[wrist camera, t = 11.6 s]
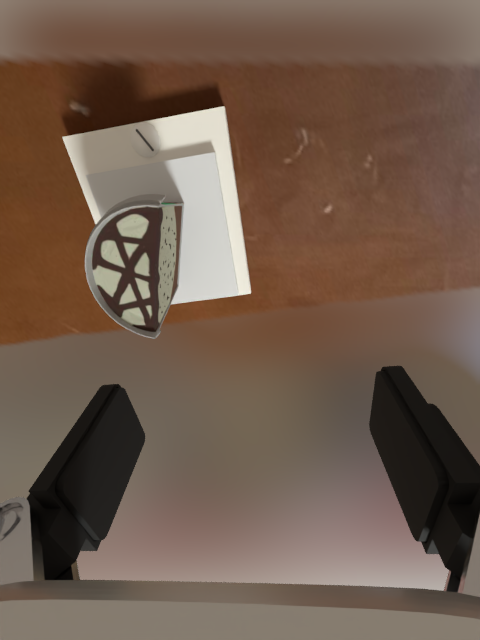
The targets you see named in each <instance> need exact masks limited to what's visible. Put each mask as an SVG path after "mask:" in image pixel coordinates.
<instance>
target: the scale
mask: <svg viewBox="0 0 480 640" xmlns="http://www.w3.org/2000/svg"><path fill="white" fill-rule="evenodd" d="M62 138H63V140H64V143H65V146H66V148H67V151H68V153H69V156H70V159H71V161H72V164H73V166H74V169H75V172H76V174H77V177H78V180H79V182H80V185H81V187H82V190H83V193H84V195H85V198H86V200H87V203H88V206H89V208H90V211H91V213H92V216H93V219H94V221H95V224H97V223H98V221H99V220H100V219H101V218H102V217H103V216H104V215H105V213H106V212H107V211H108V210H109V209H111V208H112V207H113V206H115V205H116V204H117V203H119V202H121V201H123V200H126V199H128V198H131V197H134V196H138V195H146V194H160V195H166V197H165V199H164V200H163V201H162V203H166V202H178V203H184V213H183V228H182V243H181V258H180V273H179V287H178V289H177V291H176V293H175V296H174V298H173V300H172V302H171V304H177V303H185V302H192V301H200V300H207V299H215V298H223V297H230V296H238V295H244V294H251V285H250V278H249V270H248V263H247V256H246V249H245V242H244V235H243V228H242V221H241V214H240V207H239V200H238V193H237V186H236V179H235V172H234V165H233V158H232V151H231V144H230V136H229V129H228V122H227V115H226V110H225V107H224V106H222V107H217V108H212V109H207V110H201V111H196V112H191V113H186V114H180V115H175V116H170V117H165V118H159V119H154V120H149V121H144V122H139V123H133V124H128V125H123V126H118V127H112V128H107V129H102V130H97V131H92V132H86V133H81V134H76V135H71V136H65V137H62Z"/></svg>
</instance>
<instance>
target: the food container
mask: <svg viewBox="0 0 480 640" xmlns="http://www.w3.org/2000/svg"><path fill="white" fill-rule="evenodd" d="M165 197H166V195H160V194H146V195H138V196H134V197H131V198H128V199H126V200H123V201H121V202H119V203H117V204H116V205H115V206H113V207H112V208H111V209H109V210H108V211H107V212H106V213H105V215H104V216H103V217H102V218H101V219H100V220H99V221H98V223H97V224H96V225H95V227H94V229H93V230H92V232H91V234H90V237H89V240H88V242H87V247H86V253H85V271H86V277H87V281H88V284H89V287H90V289H91V291H92V293H93V295H94V297H95V299H96V301H97V302H98V303H99V305H100V306H101V308H102V309H103V310H104V311H105V312H106V313H107V314H108V315H109V316H110V317H111V318H112V319H113V320H115V321H116V322H117V323H118V324H120V325H121V326H123V327H124V328H126V329H128V330H130V331H132V332H134V333H136V334H139V335H142V336H145V337H149V338H153V339H155V338H156V337H158V335H159V334H160V332H161V330H159V329H160V327H161V325H162V323H163V320H164V318H165V316H166V314H167V311H168V309H169V307H170V305H171V302H172V300H173V298H174V296H175V293H176V291H177V289H178V287H179V273H180V258H181V243H182V228H183V213H184V203H178V202H166V203H162V201H163V200H164V199H165Z"/></svg>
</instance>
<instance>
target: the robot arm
mask: <svg viewBox="0 0 480 640" xmlns="http://www.w3.org/2000/svg"><path fill="white" fill-rule="evenodd" d="M369 425H370V431H371V435H372V437H373V439H374V442H375V445H376V447H377V449H378V452H379V454H380V457H381V459H382V462H383V464H384V467H385V469H386V472H387V474H388V476H389V479H390V481H391V484H392V486H393V489H394V491H395V494H396V496H397V499H398V501H399V504H400V506H401V508H402V510H403V513H404V516H405V518H406V521H407V523H408V526H409V528H410V531H411V533H412V535H413V537H414V538H415V540H416V541H421V542H422V545H423V547H424V549H425V552H426V554H439V555H440V557H441V559H442V561H443V563H444V565H445V567H446V568H447V569H448V570H449V572H448V576H447V580H446V584H445V587H444V591H438V590H428V589H415V588H394V587H372V586H345V585H343V586H342V585H308V584H307V585H306V584H270V583H269V584H268V583H226V582H223V583H222V582H180V581H177V582H176V581H121V580H120V581H119V580H80V577H79V572H78V565H77V560H76V559H77V557H78V555H79V552H80V551H97V549H98V547H99V544H100V542H101V540H103V539H105V537H106V536H107V534H108V531H109V529H110V527H111V524H112V522H113V519H114V517H115V514H116V512H117V509H118V506H119V504H120V502H121V499H122V497H123V494H124V492H125V489H126V487H127V484H128V482H129V479H130V477H131V474H132V472H133V469H134V467H135V465H136V462H137V459H138V457H139V455H140V452H141V450H142V447H143V445H144V442H145V433H144V431H143V428H142V426H141V424H140V422H139V420H138V417H137V415H136V413H135V411H134V408H133V406H132V404H131V402H130V400H129V397H128V395H127V393H126V391H125V389H124V388H121V386H120V385H119V384H113V385H103V386H101V387H100V388H99V390H98V391H97V393H96V395H95V396H94V397H93V399H92V400H91V401H90V403H89V404H88V406H87V407H86V409H85V410H84V412H83V413H82V415H81V416H80V418H79V419H78V420H77V422H76V423H75V425H74V426H73V428H72V429H71V431H70V432H69V433H68V435H67V436H66V438H65V439H64V441H63V442H62V443H61V445H60V446H59V448H58V449H57V451H56V452H55V454H54V455H53V456H52V458H51V459H50V461H49V462H48V464H47V465H46V467H45V468H44V470H43V471H42V472H41V474H40V475H39V477H38V478H37V480H36V481H35V483H34V484H33V486H32V487H31V488H30V490H29V492H30V495H29V496H28V497H27V499H25V498H24V497H16V498H11V499H9V500H7V501H4V502H2V503H0V640H480V466H479V464H478V463H477V461H476V460H475V459H474V457H473V456H472V454H471V453H470V452H469V450H468V449H467V448H466V446H465V445H464V443H463V442H462V440H461V439H460V438H459V436H458V435H457V433H456V432H455V431H454V429H453V428H452V426H451V425H450V424H449V422H448V421H447V420H446V418H445V417H444V416H443V414H442V413H441V411H440V410H439V409H438V408H437V406H435V405H434V404H428V403H427V402H426V400H425V399H424V398H423V396H422V395H421V393H420V392H419V390H418V389H417V387H416V386H415V385H414V383H413V382H412V380H411V379H410V377H409V376H408V374H407V373H406V372H405V370H404V368H403V367H402V366H389V367H382V369H381V371H379V372H377V373H376V378H375V386H374V393H373V400H372V409H371V416H370V424H369Z"/></svg>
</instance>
